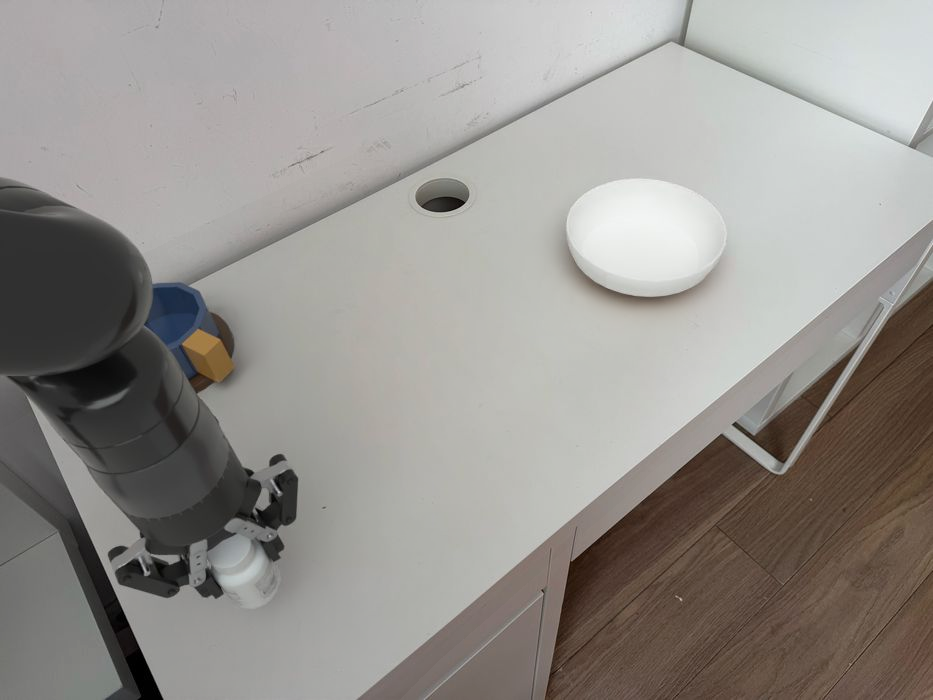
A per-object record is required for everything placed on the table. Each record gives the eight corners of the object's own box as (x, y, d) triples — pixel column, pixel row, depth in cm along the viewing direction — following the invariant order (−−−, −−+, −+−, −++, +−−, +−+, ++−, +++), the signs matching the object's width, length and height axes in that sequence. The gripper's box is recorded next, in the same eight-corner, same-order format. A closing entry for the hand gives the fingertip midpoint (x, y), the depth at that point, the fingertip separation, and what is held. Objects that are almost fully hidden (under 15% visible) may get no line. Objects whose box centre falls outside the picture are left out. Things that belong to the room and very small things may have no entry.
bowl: (740, 247, 90) (752, 209, 86) (675, 341, 81) (685, 304, 76) (608, 197, 98) (612, 161, 94) (535, 277, 89) (536, 241, 84)
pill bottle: (277, 553, 61) (252, 512, 55) (285, 599, 58) (260, 562, 52) (227, 569, 60) (196, 530, 54) (232, 617, 57) (201, 582, 51)
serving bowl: (100, 364, 81) (78, 334, 77) (172, 301, 87) (155, 270, 83) (192, 414, 76) (173, 384, 72) (261, 343, 82) (248, 312, 78)
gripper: (68, 574, 39) (178, 662, 52) (295, 443, 44) (343, 554, 57) (36, 480, 43) (145, 584, 56) (247, 370, 48) (302, 489, 61)
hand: (244, 568), depth 56 cm, fingers closed on pill bottle, 4 cm apart
